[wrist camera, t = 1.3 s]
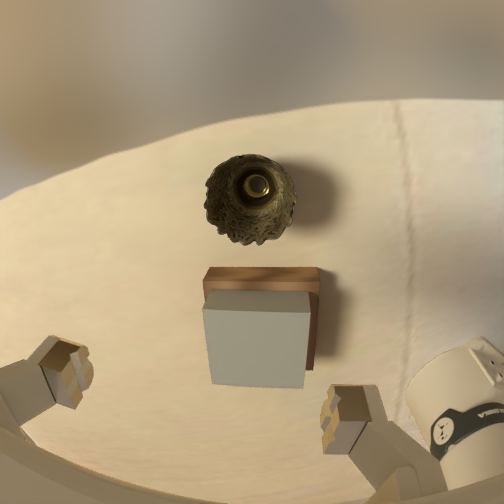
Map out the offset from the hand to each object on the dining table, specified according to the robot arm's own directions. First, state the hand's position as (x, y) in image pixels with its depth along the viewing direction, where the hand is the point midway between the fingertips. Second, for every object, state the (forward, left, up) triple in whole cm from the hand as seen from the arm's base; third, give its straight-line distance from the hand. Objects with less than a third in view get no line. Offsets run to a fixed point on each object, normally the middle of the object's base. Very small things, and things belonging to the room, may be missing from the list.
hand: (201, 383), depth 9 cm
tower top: (-5, +12, -22) cm, 25 cm away
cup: (+1, -2, -26) cm, 26 cm away
